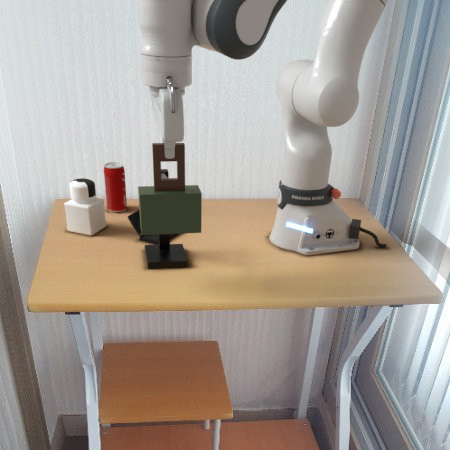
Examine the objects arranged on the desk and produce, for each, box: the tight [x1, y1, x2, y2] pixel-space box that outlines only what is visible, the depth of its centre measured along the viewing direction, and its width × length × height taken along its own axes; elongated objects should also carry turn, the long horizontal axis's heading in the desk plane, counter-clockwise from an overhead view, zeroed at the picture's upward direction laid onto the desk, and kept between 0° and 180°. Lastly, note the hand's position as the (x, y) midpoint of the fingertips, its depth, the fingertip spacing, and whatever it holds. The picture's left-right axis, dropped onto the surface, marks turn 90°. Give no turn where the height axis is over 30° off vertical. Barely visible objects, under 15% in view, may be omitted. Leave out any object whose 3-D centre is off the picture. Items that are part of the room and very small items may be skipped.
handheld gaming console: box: [127, 210, 178, 245], centre depth 145 cm, size 12×7×10 cm
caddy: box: [137, 142, 203, 235], centre depth 114 cm, size 12×5×16 cm, turn 100°
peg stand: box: [144, 168, 189, 270], centre depth 129 cm, size 9×11×19 cm
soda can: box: [103, 161, 128, 213], centre depth 156 cm, size 6×6×12 cm
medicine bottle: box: [63, 177, 107, 236], centre depth 144 cm, size 7×7×12 cm
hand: (168, 155), depth 111 cm, fingers closed on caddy
